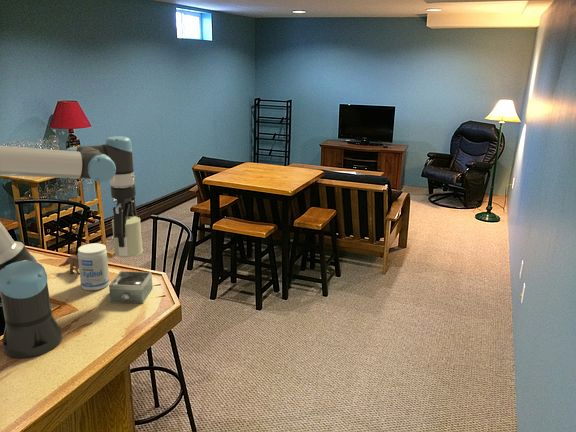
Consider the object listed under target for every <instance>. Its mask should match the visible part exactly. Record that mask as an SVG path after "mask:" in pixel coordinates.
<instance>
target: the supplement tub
mask: <svg viewBox="0 0 576 432" xmlns="http://www.w3.org/2000/svg"><path fill="white" fill-rule="evenodd" d="M77 254H78V255H77V256H78V261H79V269H78V272H79V273H80V274H79V278H80V287H81V288H82V289H84V290H86V291H100V290H103V289H104V288H106V287H107V286H109V284H110V275H109V264H108V252H107V246H106V245H105V244H103V243H95V242H94V243H87V244H83V245H81V246H79V247H78V248H77Z"/></svg>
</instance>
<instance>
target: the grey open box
mask: <svg viewBox="0 0 576 432" xmlns="http://www.w3.org/2000/svg"><path fill="white" fill-rule="evenodd" d="M152 274H153V273H152V271H129V270H128V271H127V270H125V271H124V270H120V271H119V272H118V274H117V275H116V276H115V277H114V279H112V280H111V282H109V284H108V289H109V297H110V303H115V304H116V303H123V304H144V303H145V302H146V300H147V298H148V296H149V295H150V293H151V292H152V291H153V277H152Z"/></svg>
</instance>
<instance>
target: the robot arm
mask: <svg viewBox="0 0 576 432" xmlns="http://www.w3.org/2000/svg"><path fill="white" fill-rule="evenodd" d="M133 153H134V150H133V145H132V141H131V138H129V137H127V136H123V135H118V136H117V135H116V136H115V135H114V136H109V137H107V138H106V139H105V143H104V144H99V145H97V144H96V145H81V146H78V145H77V146H74V147H68V148H66V149H65V150H62V149H61V150H60V149H48V148H36V147H26V146H25V147H23V146H8V145H0V176H8V177H9V176H10V177H28V178H29V177H33V178H36V177H37V178H54V179H55V178H56V179H57V178H60V179H80V180H92V181H94V182H97V183H107V182H109V185H111V186H110V194H111V195H110V196H111V198H113V199H115V200H116V206H113V207H112V211H113V219H114V238H117V239H118V249H119V256H128V248H127V237H126V236H125V231H126V230H125V224H126V218H127V217H128V216H130V217H133V216H136V217H138V212H137V208H136V207H137V206H136V198H135V197H136V194H137V193H136V192H137V191H136V185H135V178H136V175H135V172H134V160H133V159H134V158H133V157H134V156H133ZM114 238H113V239H114ZM49 292H50V291H49V285H48V274H47V272H46V269H45V267H44V266H43V264H41V263H39V262H38V261H37V260H36V258H35V256H34V255H32V253H30V252H29V250H28V248H27V247H26V246H25V244H24V243H23V242H21V241H17V240H16V241H15V240H14V239H13V238H12V235H10V233H9V232H8V230H7V228H6V227H5V226H4V224H3V223H2V222H1V221H0V299H1V304H2V305H1V306H2V311H3V316H4V321H5V327H4V330H3V331H4V332H3V337H2V341H1V347H2V352H3V353H4V354H5V355H6V356H7V357H11V358H13V359H25V358H26V359H27V358H34V357H37V356H40V355H43V354H46V353H47V352H50V351H52V350H53V349H54V348H56V347H57V346H59V344H60V343H61V342H62V340H63V334H62V328H61V327H60V326H59V324H58V322H57V320H56V318H55V316H54V315H53V312H52V306H51V297H50V293H49Z"/></svg>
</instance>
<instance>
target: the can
mask: <svg viewBox="0 0 576 432" xmlns="http://www.w3.org/2000/svg"><path fill="white" fill-rule="evenodd" d="M111 227H112V237H113V247H114V253H113V255H114V256H116V257H119V258H132V257H137V256H139V255H141V254H142V253H143V252H144V249H143V240H142V239H143V238H142V228H141V227H142V226H141V218H140V216H139V217H138V216H137V217H136V216H133V217H130V216H128V217H127V218H126V224H125V230H126V231H125V236H126V237H127V248H128V256H119V249H118V239H117V238H114V218H113V219H112V220H111Z"/></svg>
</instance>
